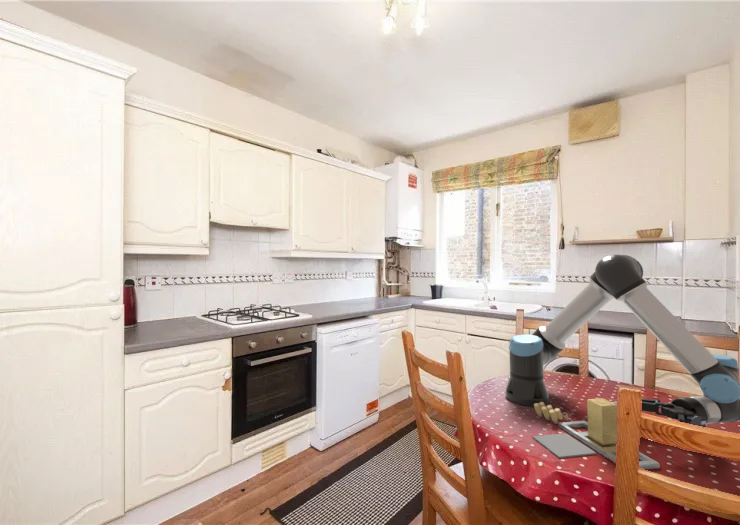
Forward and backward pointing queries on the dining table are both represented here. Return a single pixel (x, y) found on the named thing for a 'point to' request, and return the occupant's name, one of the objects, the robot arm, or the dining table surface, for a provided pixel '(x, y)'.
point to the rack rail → (606, 451)
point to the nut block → (602, 422)
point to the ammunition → (550, 412)
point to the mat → (563, 445)
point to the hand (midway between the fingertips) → (632, 416)
